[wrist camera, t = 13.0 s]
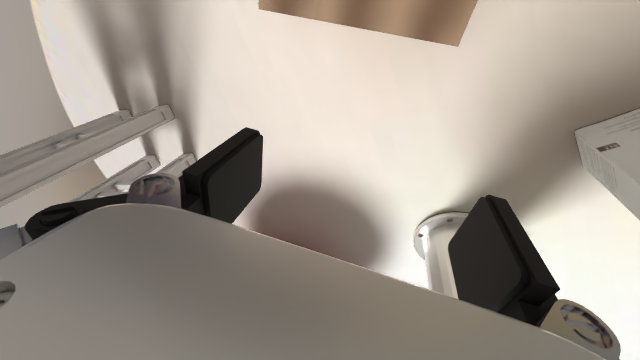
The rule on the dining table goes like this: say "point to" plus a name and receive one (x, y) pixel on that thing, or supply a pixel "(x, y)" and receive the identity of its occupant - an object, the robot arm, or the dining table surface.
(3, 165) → the stool
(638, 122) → the skincare box
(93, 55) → the dining table surface
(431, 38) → the pocket block
